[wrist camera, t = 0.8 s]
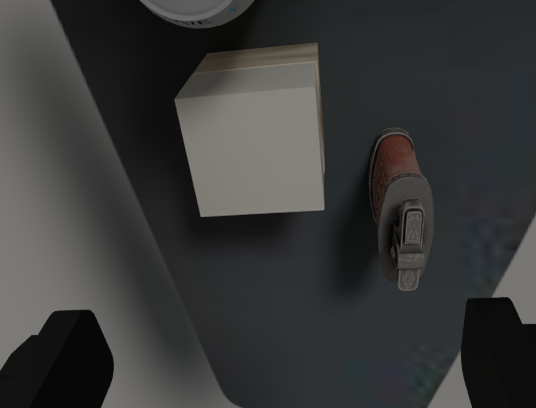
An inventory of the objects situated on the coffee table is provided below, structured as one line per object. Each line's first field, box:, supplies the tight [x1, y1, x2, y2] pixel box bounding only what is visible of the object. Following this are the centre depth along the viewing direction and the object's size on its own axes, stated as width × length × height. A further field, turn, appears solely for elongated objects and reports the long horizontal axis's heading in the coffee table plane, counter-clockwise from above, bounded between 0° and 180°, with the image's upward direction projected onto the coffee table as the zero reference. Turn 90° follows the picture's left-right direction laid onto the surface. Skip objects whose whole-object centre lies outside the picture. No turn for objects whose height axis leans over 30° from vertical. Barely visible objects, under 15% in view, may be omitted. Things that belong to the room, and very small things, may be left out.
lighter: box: [368, 128, 434, 291], centre depth 34 cm, size 8×3×10 cm, turn 5°
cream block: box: [174, 62, 324, 217], centre depth 30 cm, size 8×8×4 cm
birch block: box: [194, 43, 325, 173], centre depth 34 cm, size 8×8×4 cm
